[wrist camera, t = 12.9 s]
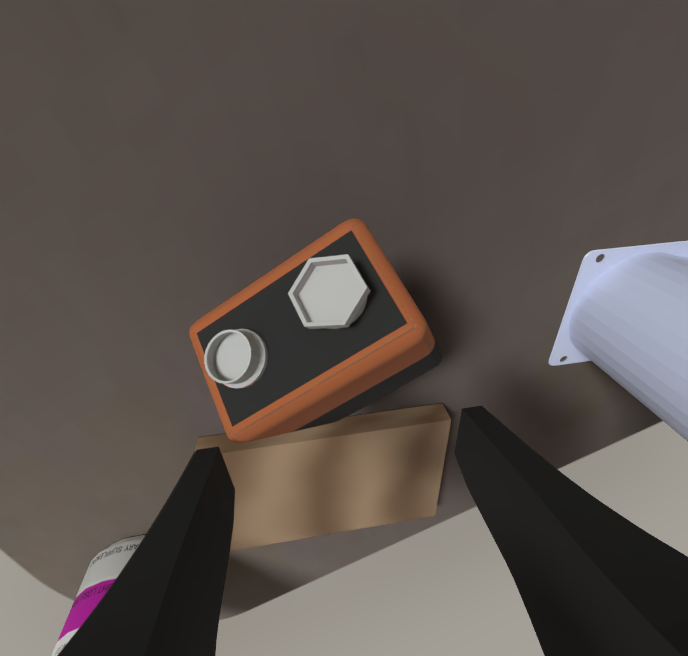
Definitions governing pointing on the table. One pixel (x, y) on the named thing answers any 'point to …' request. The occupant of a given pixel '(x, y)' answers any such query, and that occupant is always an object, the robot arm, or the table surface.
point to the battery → (313, 339)
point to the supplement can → (97, 585)
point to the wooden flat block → (336, 475)
